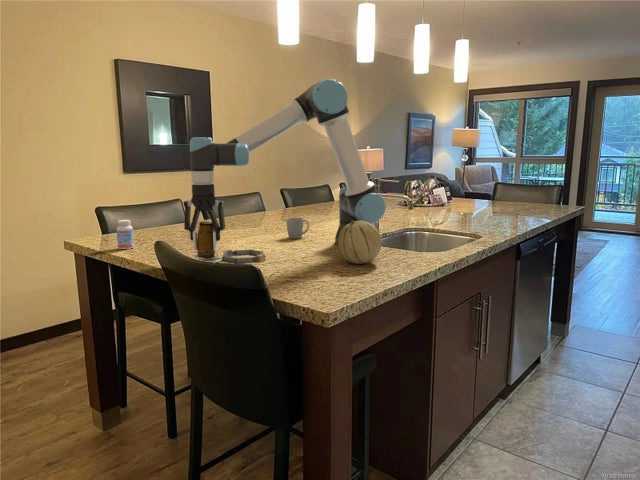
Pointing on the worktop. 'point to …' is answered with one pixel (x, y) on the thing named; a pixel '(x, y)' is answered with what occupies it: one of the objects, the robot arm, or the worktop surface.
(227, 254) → the collar
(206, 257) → the condiment
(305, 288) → the worktop surface
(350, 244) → the cantaloupe
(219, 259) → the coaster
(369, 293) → the worktop surface
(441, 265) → the worktop surface
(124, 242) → the pill bottle
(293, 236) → the cup
